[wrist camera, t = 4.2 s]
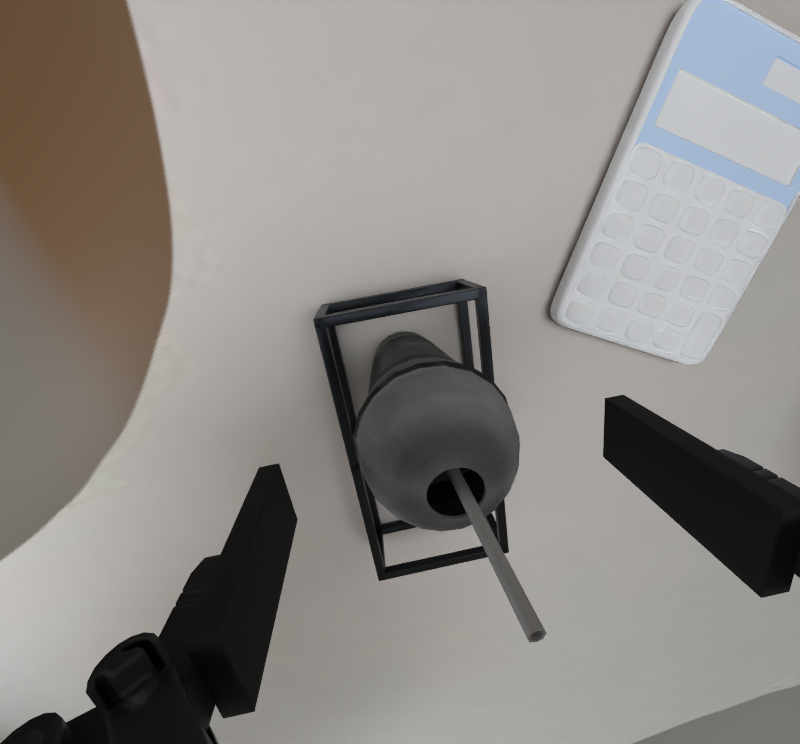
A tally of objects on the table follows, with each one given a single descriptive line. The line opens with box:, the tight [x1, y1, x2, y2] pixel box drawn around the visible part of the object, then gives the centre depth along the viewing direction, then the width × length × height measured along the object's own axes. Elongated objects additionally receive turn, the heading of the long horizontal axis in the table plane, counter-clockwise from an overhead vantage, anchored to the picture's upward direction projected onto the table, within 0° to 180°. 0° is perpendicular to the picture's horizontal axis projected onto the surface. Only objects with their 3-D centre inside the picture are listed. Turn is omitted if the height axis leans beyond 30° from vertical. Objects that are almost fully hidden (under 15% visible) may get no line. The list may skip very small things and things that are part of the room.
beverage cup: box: [353, 332, 546, 642], centre depth 18 cm, size 7×7×20 cm
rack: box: [313, 279, 509, 581], centre depth 27 cm, size 10×20×5 cm, turn 10°
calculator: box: [550, 0, 800, 365], centre depth 25 cm, size 13×20×2 cm, turn 163°
